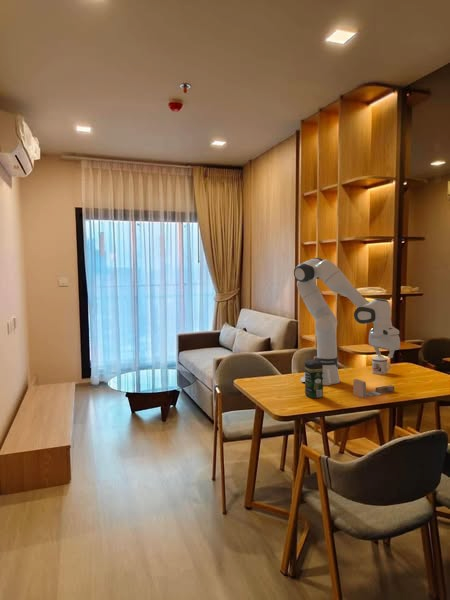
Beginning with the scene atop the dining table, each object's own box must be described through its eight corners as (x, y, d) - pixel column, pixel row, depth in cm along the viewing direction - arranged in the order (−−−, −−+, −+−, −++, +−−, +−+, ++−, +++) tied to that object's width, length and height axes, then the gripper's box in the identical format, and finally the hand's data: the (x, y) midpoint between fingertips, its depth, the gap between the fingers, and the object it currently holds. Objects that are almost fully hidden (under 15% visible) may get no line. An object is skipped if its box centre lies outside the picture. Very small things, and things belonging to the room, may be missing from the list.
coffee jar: (302, 394, 212) (302, 359, 211) (316, 392, 214) (315, 357, 213) (311, 399, 202) (310, 362, 201) (325, 397, 204) (325, 361, 203)
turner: (388, 390, 215) (388, 384, 215) (396, 392, 210) (396, 387, 210) (362, 394, 209) (362, 388, 209) (370, 397, 204) (370, 391, 204)
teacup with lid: (368, 372, 254) (368, 354, 253) (378, 370, 258) (378, 352, 258) (385, 376, 243) (385, 357, 243) (395, 374, 248) (394, 355, 247)
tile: (356, 394, 209) (356, 379, 208) (365, 398, 202) (365, 382, 202) (353, 394, 208) (353, 379, 208) (362, 398, 202) (362, 382, 201)
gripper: (365, 328, 219) (366, 354, 219) (391, 332, 199) (392, 360, 200) (374, 327, 221) (376, 352, 221) (401, 331, 201) (403, 358, 202)
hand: (384, 356), depth 210 cm, fingers open, 8 cm apart
